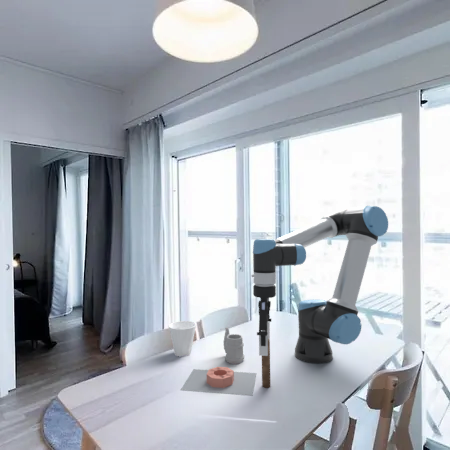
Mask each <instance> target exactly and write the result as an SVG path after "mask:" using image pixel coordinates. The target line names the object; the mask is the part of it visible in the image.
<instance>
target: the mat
mask: <svg viewBox="0 0 450 450" xmlns="http://www.w3.org/2000/svg"><path fill="white" fill-rule="evenodd" d="M208 370H209V369H199V368H198V369H197V368H193V369H192V371H191V373H190V374H189V375H188V377H187V379H186V380H185V382H184V384H183V385H182V387H181V389H180V391H183V392H184V391H187V392H198V393H199V392H200V393H210V394H223V395H224V394H225V395H238V396H239V395H240V396H251V397H253V395H254V390H255V385H256V380H257V372H243V371H234V381H233V384H232V385H230V386H227V387H225V388H217V387H212V386H210V385H209V384H208V383H207V372H208Z"/></svg>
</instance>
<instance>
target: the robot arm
mask: <svg viewBox="0 0 450 450" xmlns="http://www.w3.org/2000/svg"><path fill="white" fill-rule="evenodd" d="M388 229H389V218H388V216H387V214H386V212H385V210H384V209H383V208H381V207H379V206H376V205H373V206H372V205H366V206H356V207H346V208H341V209H339V210H337V211H334V212H332V213H330V214H327V215H325V216H323V217H322V218H321V219H320V220H319V221H317V222H314V223H312V224H310V225H307V226H304V227H302V228H300V229H296V230H294V231H293V232H290V233H288V234H284V235H283V236H281V237H277V238H256V239H255V240H254V241H253V246H252V255H253V257H252V258H253V260H252V261H253V262H252V264H253V267H252V268H253V273H252V274H251V277H252V278H253V284H254V285H253V287H252V289H253V292H252V294H253V297H255V298H260V300H258V302H257V303H258V304H257V305H258V306H257V307H258V315H259V319H258V322H259V323H258V332H256V336H258V355H259V356H260V357H262V356H268V339H271V338H270V337H271V335H270V331H271V330H270V329H271V328H270V323H271V322H272V318H270V317H271V316H270V311H271V306H272V303H271V300H270V299H272V298H274V297H276V295H277V292H276V291H277V289H276V287H277V286H276V284H277V272H276V271H277V270H276V269H277V267H280V266H281V267H282V266H283V267H285V266H294V267H295V266H298V265H299V266H301V265H302V264H303V265H304V263H305V261H306V259H307V251H306V247H308V246H311V245H313V244H316V243H318V242H320V241H322V240H325V239H327V238H329V239H333V238H336V237H338V236H346V238H347V240H348V241H347V245H346V247H345V248H346V249H345V252H344V255H343V259H342V261H341V265H340V271H339V272H338V276H337V279H336V280H337V281H336V284H335V286H334V290H333V295H332V297H331V298H330V299H327V300H326V299H305V300H302V301H299V303H298V307H297V308H298V310H297V312H298V315H297V316H298V317H297V318H298V338H297V341H296V345H295V348H294V356H295V357H296V358H297V359H299V361H300V360H301V361H303V362H307V363H311V364H324V363H328V362H331V361H332V360H333V355H334V353H333V350H332V347H331V344H330V341H332V342H334V343H337V344H340V345H350V344H351V343H353V342H354V341H356V340H357V339H358V337H359V336H360V334H361V331H362V323H361V321H362V320H361V319H360V317H359V316H358V314H359V310H358V308H357V305H356V304H357V302H358V301H357V300H358V298H359V293H360V290H361V285H362V282H363V279H364V274H365V270H366V267H367V263H368V260H369V256H370V253H371V249H372V247H373V245H376V244H377V243H378V239H379V237H382V236H384V235H385V234H386V233H387V232H388ZM329 340H330V341H329Z"/></svg>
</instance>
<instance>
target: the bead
mask: <svg viewBox="0 0 450 450" xmlns="http://www.w3.org/2000/svg"><path fill="white" fill-rule="evenodd" d="M207 370H208V372H207V383H208V384H209V385H210V386H212V387H217V388H225V387H227V386H230V385H232V384H233V381H234V372H235V371H234V370H233V369H231V368H229V367H228V366H216V367H212V368H209V369H207Z"/></svg>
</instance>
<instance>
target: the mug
mask: <svg viewBox="0 0 450 450" xmlns="http://www.w3.org/2000/svg"><path fill="white" fill-rule="evenodd" d="M223 338H224V339H223V349H224V352H225V356H224V358H225V361H226V362H227V363H228V364H233V365H238V364H241V363H243V362H244V359H245V355H244V343H243V342H244V341H243V335H241V334H237V333H236V334H234V333H231V334H230V329H229V327H228V326H227V327H225V332H224V336H223Z"/></svg>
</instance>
